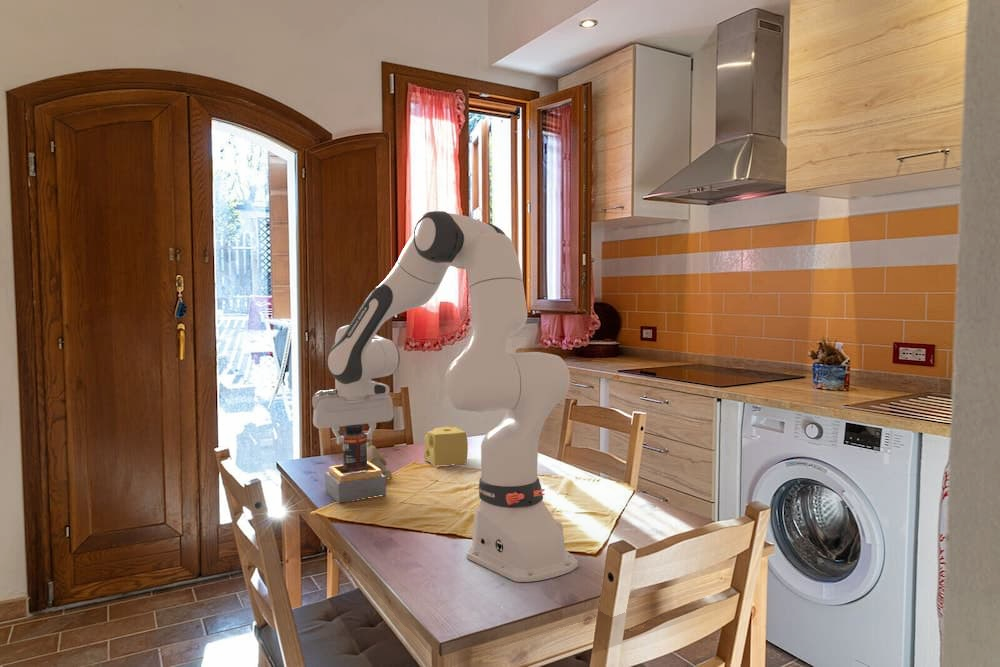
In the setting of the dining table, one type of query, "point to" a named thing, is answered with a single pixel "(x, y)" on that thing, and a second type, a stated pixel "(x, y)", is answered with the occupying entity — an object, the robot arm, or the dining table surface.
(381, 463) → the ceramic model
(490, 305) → the robot arm
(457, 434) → the cheese
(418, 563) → the dining table surface
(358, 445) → the supplement bottle
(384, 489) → the grey wooden-rimmed box
